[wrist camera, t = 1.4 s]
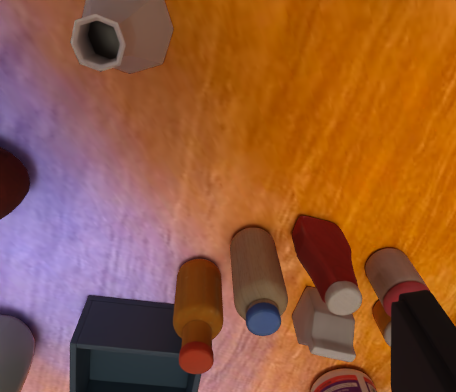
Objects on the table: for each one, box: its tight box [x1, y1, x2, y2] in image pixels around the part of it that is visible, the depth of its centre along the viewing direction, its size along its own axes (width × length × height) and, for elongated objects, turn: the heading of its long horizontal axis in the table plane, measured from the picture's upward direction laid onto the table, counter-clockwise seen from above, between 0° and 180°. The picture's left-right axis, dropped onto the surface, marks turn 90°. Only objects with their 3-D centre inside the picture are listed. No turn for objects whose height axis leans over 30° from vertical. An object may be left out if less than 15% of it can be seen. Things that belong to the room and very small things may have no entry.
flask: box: [70, 0, 173, 74], centre depth 29 cm, size 7×7×10 cm
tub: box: [70, 295, 201, 392], centre depth 46 cm, size 13×13×7 cm
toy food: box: [173, 216, 430, 374], centre depth 40 cm, size 27×13×12 cm, turn 71°
